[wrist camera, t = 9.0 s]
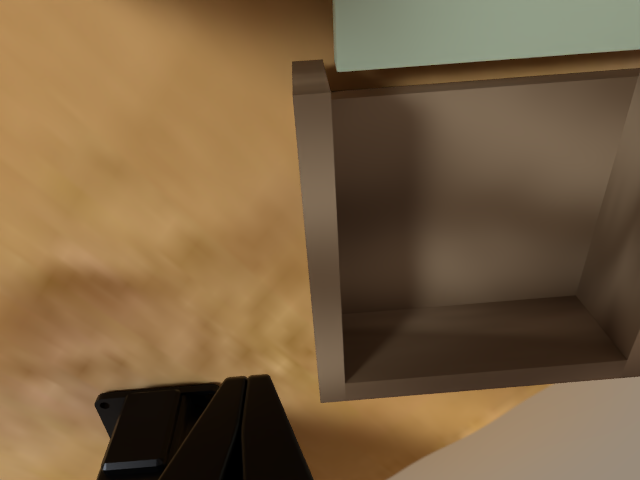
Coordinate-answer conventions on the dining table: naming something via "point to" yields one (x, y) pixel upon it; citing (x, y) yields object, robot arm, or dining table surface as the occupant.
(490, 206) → the brown hollow box
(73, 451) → the dining table surface
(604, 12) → the green grey flat panel
